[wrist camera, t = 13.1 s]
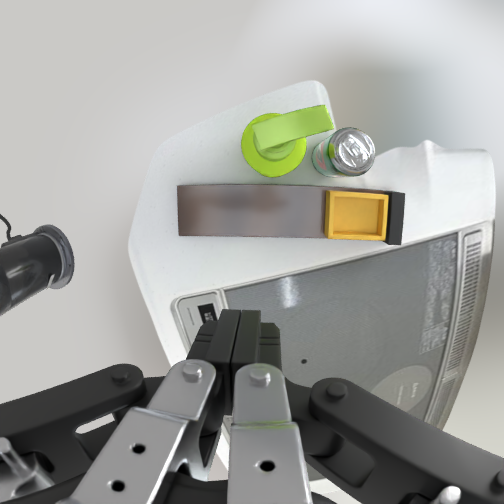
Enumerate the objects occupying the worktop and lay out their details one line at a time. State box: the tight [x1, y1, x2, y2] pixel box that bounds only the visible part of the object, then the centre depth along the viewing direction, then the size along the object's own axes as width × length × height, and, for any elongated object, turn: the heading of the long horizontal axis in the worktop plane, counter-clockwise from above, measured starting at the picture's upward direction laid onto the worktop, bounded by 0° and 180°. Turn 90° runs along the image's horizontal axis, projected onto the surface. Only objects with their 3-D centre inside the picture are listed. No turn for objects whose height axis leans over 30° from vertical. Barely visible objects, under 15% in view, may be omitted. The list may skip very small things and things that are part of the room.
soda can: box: [312, 128, 375, 177], centre depth 31 cm, size 5×5×12 cm
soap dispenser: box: [241, 105, 334, 177], centre depth 27 cm, size 6×7×20 cm
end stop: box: [383, 191, 405, 245], centre depth 35 cm, size 2×7×3 cm, turn 0°
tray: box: [324, 191, 388, 241], centre depth 35 cm, size 8×6×3 cm
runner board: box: [177, 184, 392, 238], centre depth 38 cm, size 31×7×1 cm, turn 90°
